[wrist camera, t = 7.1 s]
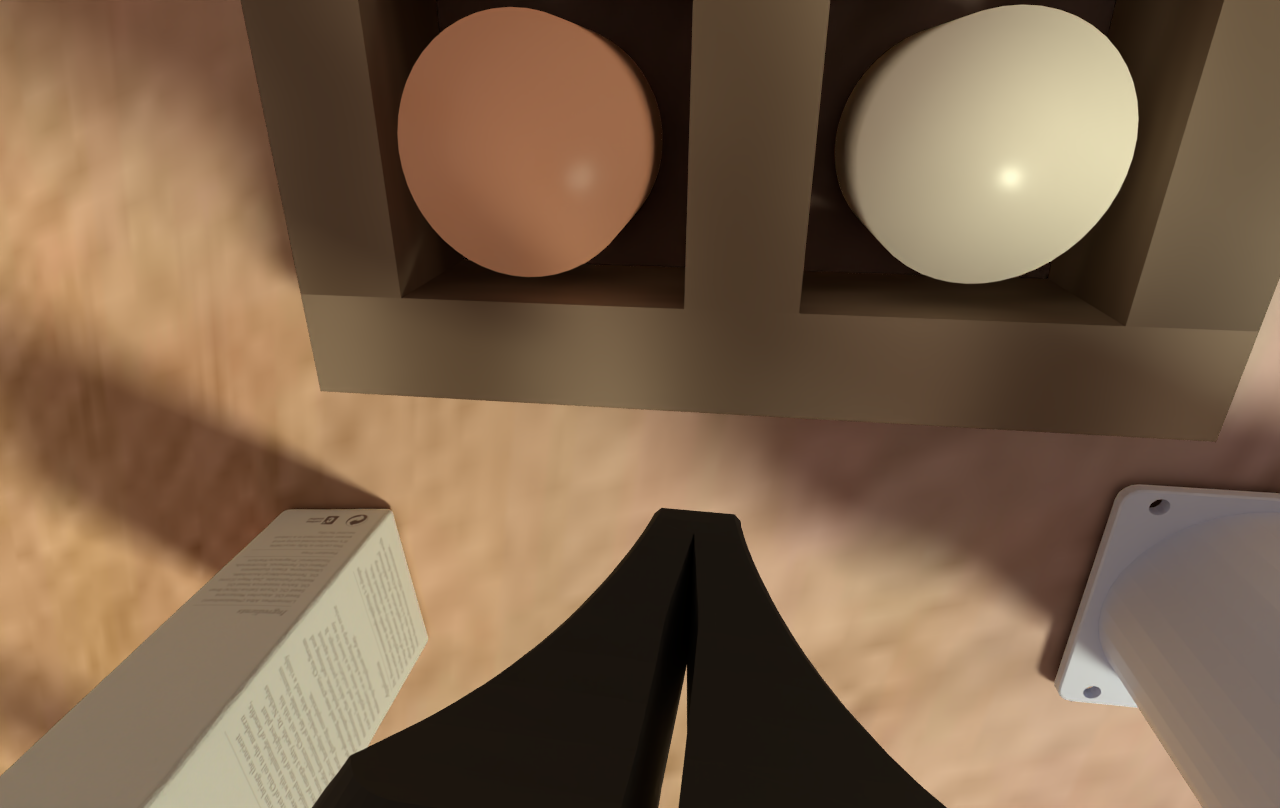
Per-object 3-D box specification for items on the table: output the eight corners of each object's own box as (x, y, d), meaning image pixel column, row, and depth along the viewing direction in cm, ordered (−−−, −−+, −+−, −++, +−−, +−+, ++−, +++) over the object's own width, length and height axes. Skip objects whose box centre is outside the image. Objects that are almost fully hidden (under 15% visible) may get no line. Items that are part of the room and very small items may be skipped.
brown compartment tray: (1291, -166, 14) (1486, -258, 10) (1124, 373, 19) (1216, 441, 15) (321, -129, 16) (201, -192, 13) (392, 339, 21) (320, 391, 17)
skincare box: (282, 505, 24) (-85, 837, 14) (395, 504, 24) (104, 852, 13) (329, 639, 27) (50, 1012, 16) (433, 642, 26) (215, 1034, 15)
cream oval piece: (1084, 21, 15) (1176, 2, 12) (1030, 251, 17) (1096, 287, 14) (848, 23, 16) (875, 6, 12) (823, 245, 18) (841, 279, 15)
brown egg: (664, 22, 16) (645, 4, 12) (661, 246, 18) (643, 280, 14) (450, 24, 16) (379, 8, 13) (471, 241, 18) (415, 273, 15)
